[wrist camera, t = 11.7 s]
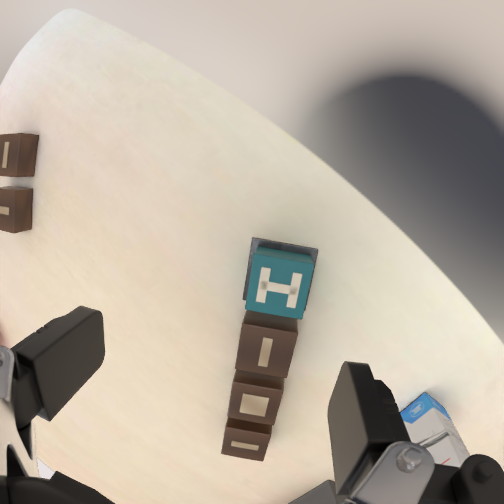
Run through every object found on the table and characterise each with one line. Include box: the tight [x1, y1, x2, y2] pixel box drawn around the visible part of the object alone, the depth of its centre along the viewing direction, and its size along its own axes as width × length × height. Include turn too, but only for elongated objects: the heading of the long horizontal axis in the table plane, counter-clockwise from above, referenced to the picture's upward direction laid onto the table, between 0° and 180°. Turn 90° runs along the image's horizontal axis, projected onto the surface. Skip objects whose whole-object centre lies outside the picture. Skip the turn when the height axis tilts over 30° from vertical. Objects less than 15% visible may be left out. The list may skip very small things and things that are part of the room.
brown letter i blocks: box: [0, 133, 39, 233], centre depth 27 cm, size 11×5×3 cm, turn 171°
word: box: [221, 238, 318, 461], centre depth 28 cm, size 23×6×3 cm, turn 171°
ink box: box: [400, 393, 470, 467], centre depth 22 cm, size 9×5×15 cm, turn 139°
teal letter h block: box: [245, 246, 314, 319], centre depth 26 cm, size 5×5×3 cm
